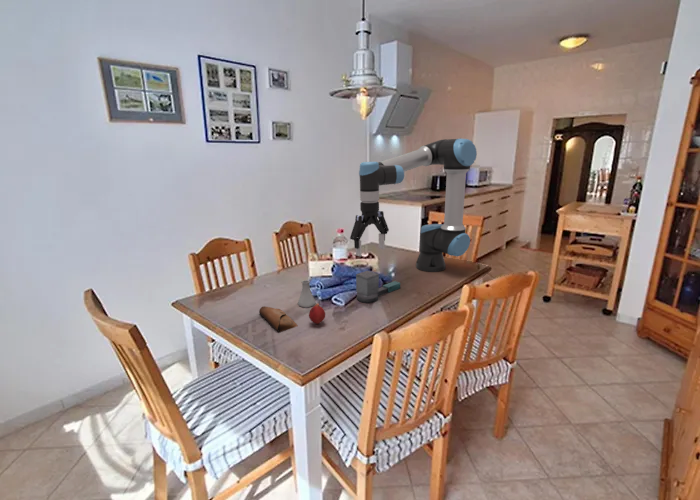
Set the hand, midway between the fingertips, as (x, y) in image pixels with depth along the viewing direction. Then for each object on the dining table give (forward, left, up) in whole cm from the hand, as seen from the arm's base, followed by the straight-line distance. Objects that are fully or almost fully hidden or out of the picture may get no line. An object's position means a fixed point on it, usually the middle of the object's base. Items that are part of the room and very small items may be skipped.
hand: (370, 252), depth 150 cm
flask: (+25, -11, -20) cm, 34 cm away
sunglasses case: (+41, -7, -20) cm, 47 cm away
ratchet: (-4, +2, -19) cm, 20 cm away
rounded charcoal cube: (+4, +2, -16) cm, 17 cm away
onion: (+32, +6, -20) cm, 38 cm away
